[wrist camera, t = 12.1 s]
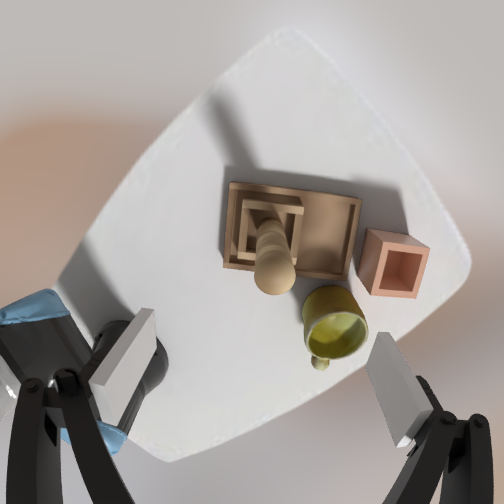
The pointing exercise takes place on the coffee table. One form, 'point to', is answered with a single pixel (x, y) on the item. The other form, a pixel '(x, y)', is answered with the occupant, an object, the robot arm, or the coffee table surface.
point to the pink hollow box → (392, 264)
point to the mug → (332, 325)
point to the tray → (293, 228)
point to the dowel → (273, 258)
